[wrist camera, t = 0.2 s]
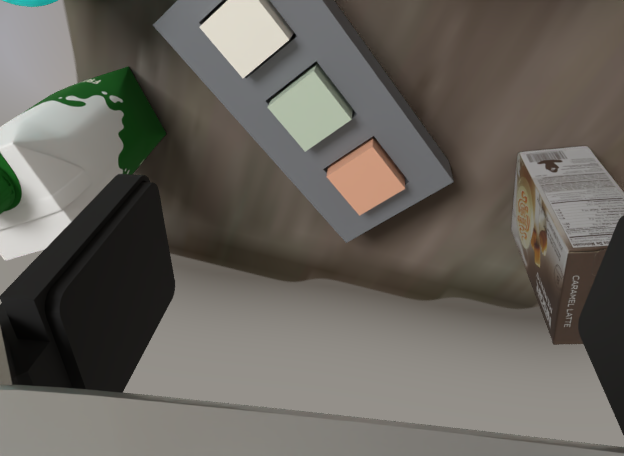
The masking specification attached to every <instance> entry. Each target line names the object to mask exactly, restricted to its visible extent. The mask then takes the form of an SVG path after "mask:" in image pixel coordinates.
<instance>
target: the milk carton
mask: <svg viewBox="0 0 624 456" xmlns="http://www.w3.org/2000/svg"><path fill="white" fill-rule="evenodd" d="M165 135H166V132H165V130H164V128H163V127H162V125H161V123H160V121H159V120H158V118H157V116H156V114H155V112H154V111H153V109H152V107H151V105H150V104H149V102H148V100H147V98H146V96H145V95H144V93H143V91H142V89H141V88H140V86H139V84H138V82H137V80H136V79H135V77H134V75H133V73H132V72H131V70H130V68H129V67H125V68H122V69H119V70H116V71H113V72H110V73H107V74H104V75H101V76H97V77H94V78H91V79H88V80H85V81H82V82H80V83H77V84H74V85H72V86H69V87H67V88H65V89H63V90H60V91H58V92H56V93H54V94H52V95H50V96H48V97H47V98H45V99H44V100H42V101H40V102H39V103H37V104H36V105H34V106H33V107H31V108H29V109H28V110H26V111H25V112H23V113H22V114H20V115H18V116H17V117H15V118H14V119H12V120H11V121H9V122H7V123H6V124H5V125H3V126H1V127H0V255H1V256H2V258H3V259H4V260H5V261H6V260H9V259H13V258H16V257H20V256H23V255H27V254H30V253H34V252H37V251H41V250H44V249H46V248H47V247H48V246H49V245H50V244H51V243H52V242H53V240H54V239H55V238H56V237H57V236H58V235H59V234H60V233H61V232H62V231H63V230H64V229H65V228H66V227H67V226H68V225H69V224H70V223H71V222H72V221H73V220H74V219H75V218H76V217H77V216H78V214H79V213H80V212H81V211H82V210H83V209H84V208H85V207H86V206H87V205H88V204H89V203H90V202H91V201H92V200H93V199H94V198H95V197H96V196H97V195H98V194H99V193H100V192H101V191H102V190H103V188H104V187H105V186H106V185H107V184H108V183H109V182H110V181H111V180H112V179H113V178H114V177H115V176H116V175H118V174H130V175H132V174H133V173H134V172H135V170H136V169H137V168H138V167H139V166H140V165H141V164H142V162H143V161H144V160H145V159H146V158H147V156H148V155H149V154H150V153H151V151H152V150H153V149H154V148H155V147H156V145H157V144H158V143H159V142H160V141H161V139H162V138H163V137H164V136H165Z"/></svg>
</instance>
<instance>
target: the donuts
mask: <svg viewBox="0 0 624 456" xmlns="http://www.w3.org/2000/svg"><path fill="white" fill-rule="evenodd" d="M3 1H5V2H8V3H11V4H15V5H19V6H27V7H37V6H44V5H47V4H51V3H53V2H56V1H58V0H3Z"/></svg>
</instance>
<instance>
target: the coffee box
mask: <svg viewBox="0 0 624 456" xmlns="http://www.w3.org/2000/svg"><path fill="white" fill-rule="evenodd" d="M622 216H624V192H623V191H622V189H621V188H620V187H619V186H618V184H617V183H616V182H615V181H614V179H613V178H612V177H611V175H610V174H609V173H608V172H607V170H606V169H605V168H604V167H603V165H602V164H601V163H600V161H599V160H598V159H597V158H596V156H595V155H594V154H593V152H592V151H591V150H590V149H589V147H587V146H580V147H570V148H559V149H548V150H538V151H527V152H520V153H518V157H517V166H516V179H515V190H514V202H513V215H512V228H511V230H512V233H513V236H514V238H515V241H516V244H517V247H518V249H519V252H520V255H521V257H522V260H523V263H524V265H525V268H526V271H527V273H528V277H529V279H530V282H531V285H532V287H533V290H534V292H535V295H536V298H537V301H538V303H539V306H540V309H541V312H542V314H543V317H544V320H545V322H546V325H547V327H548V330H549V333H550V335H551V338H552V342H553V344H554V345H557V344H583V342H582V339H581V337H580V334H579V330H578V322H579V317H580V314H581V312H582V309H583V307H584V304H585V302H586V299H587V297H588V294H589V292H590V289H591V287H592V284H593V282H594V280H595V277H596V275H597V272H598V270H599V267H600V265H601V262H602V260H603V257H604V255H605V252H606V250H607V247H608V245H609V242H610V240H611V237H612V235H613V232H614V230H615V228H616V225H617V223H618V221H619V219H620V218H621V217H622Z"/></svg>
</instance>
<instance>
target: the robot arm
mask: <svg viewBox="0 0 624 456" xmlns="http://www.w3.org/2000/svg"><path fill="white" fill-rule="evenodd" d="M174 291H175V280H174V274H173V269H172V263H171V257H170V252H169V246H168V240H167V235H166V229H165V224H164V218H163V212H162V207H161V201H160V196H159V190H158V187H157V185H156V184H155V183H150V180H149V178H148V177H147V176H145V175H130V174H118V175H116V176H115V177H114V178H113V179H112V180H111V181H110V182H109V183H108V184H107V185H106V186H105V187H104V188H103V190H102V191H101V192H100V193H99V194H98V195H97V196H96V197H95V198H94V199H93V200H92V201H91V202H90V203H89V204H88V205H87V206H86V207H85V208H84V209H83V210H82V211H81V212H80V213H79V214H78V216H77V217H76V218H75V219H74V220H73V221H72V222H71V223H70V224H69V225H68V226H67V227H66V228H65V229H64V230H63V231H62V232H61V233H60V234H59V235H58V236H57V237H56V238H55V239H54V240H53V242H52V243H51V244H50V245H49V246H48V247H47V248H46V249H45V250H44V251H43V252H42V253H41V254H40V255H39V256H38V257H37V258H36V259H35V260H34V261H33V262H32V263H31V264H30V265H29V266H28V268H27V269H26V270H25V271H24V272H23V273H22V274H21V275H20V276H19V277H18V278H17V279H16V280H15V281H14V282H13V283H12V284H11V285H10V286H9V287H8V288H7V289H6V291H4V293H3V294H2V295H1V296H0V299H1V302H2V304H1V305H0V456H624V447H615V446H607V445H598V444H590V443H582V442H581V443H580V442H573V441H564V440H556V439H547V438H538V437H530V436H521V435H512V434H503V433H495V432H486V431H477V430H468V429H460V428H450V427H441V426H432V425H423V424H414V423H404V422H396V421H387V420H378V419H369V418H359V417H351V416H341V415H332V414H323V413H313V412H304V411H295V410H286V409H277V408H267V407H257V406H248V405H238V404H229V403H218V402H210V401H200V400H190V399H180V398H171V397H162V396H152V395H142V394H131V393H123V391H124V389H125V387H126V385H127V383H128V381H129V379H130V377H131V376H132V374H133V372H134V370H135V368H136V366H137V364H138V362H139V360H140V358H141V357H142V354H143V353H144V351H145V349H146V347H147V345H148V343H149V341H150V340H151V338H152V336H153V334H154V332H155V330H156V328H157V326H158V324H159V323H160V321H161V319H162V317H163V315H164V313H165V311H166V309H167V307H168V305H169V304H170V302H171V300H172V298H173V295H174ZM578 330H579V334H580V337H581V339H582V342H583V344H584V346H585V348H586V351H587V353H588V355H589V358H590V360H591V362H592V364H593V366H594V369H595V371H596V373H597V376H598V378H599V380H600V383H601V385H602V387H603V389H604V392H605V394H606V396H607V398H608V401H609V403H610V405H611V408H612V410H613V412H614V414H615V417H616V419H617V421H618V423H619V426H620V428H621V430H622V433H623V435H624V216H622V217H621V218H620V219H619V221H618V223H617V225H616V228H615V230H614V232H613V235H612V237H611V240H610V242H609V245H608V247H607V250H606V252H605V255H604V257H603V260H602V262H601V265H600V267H599V270H598V272H597V275H596V277H595V280H594V282H593V284H592V287H591V289H590V292H589V294H588V297H587V299H586V302H585V304H584V307H583V309H582V312H581V314H580V317H579V322H578Z"/></svg>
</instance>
